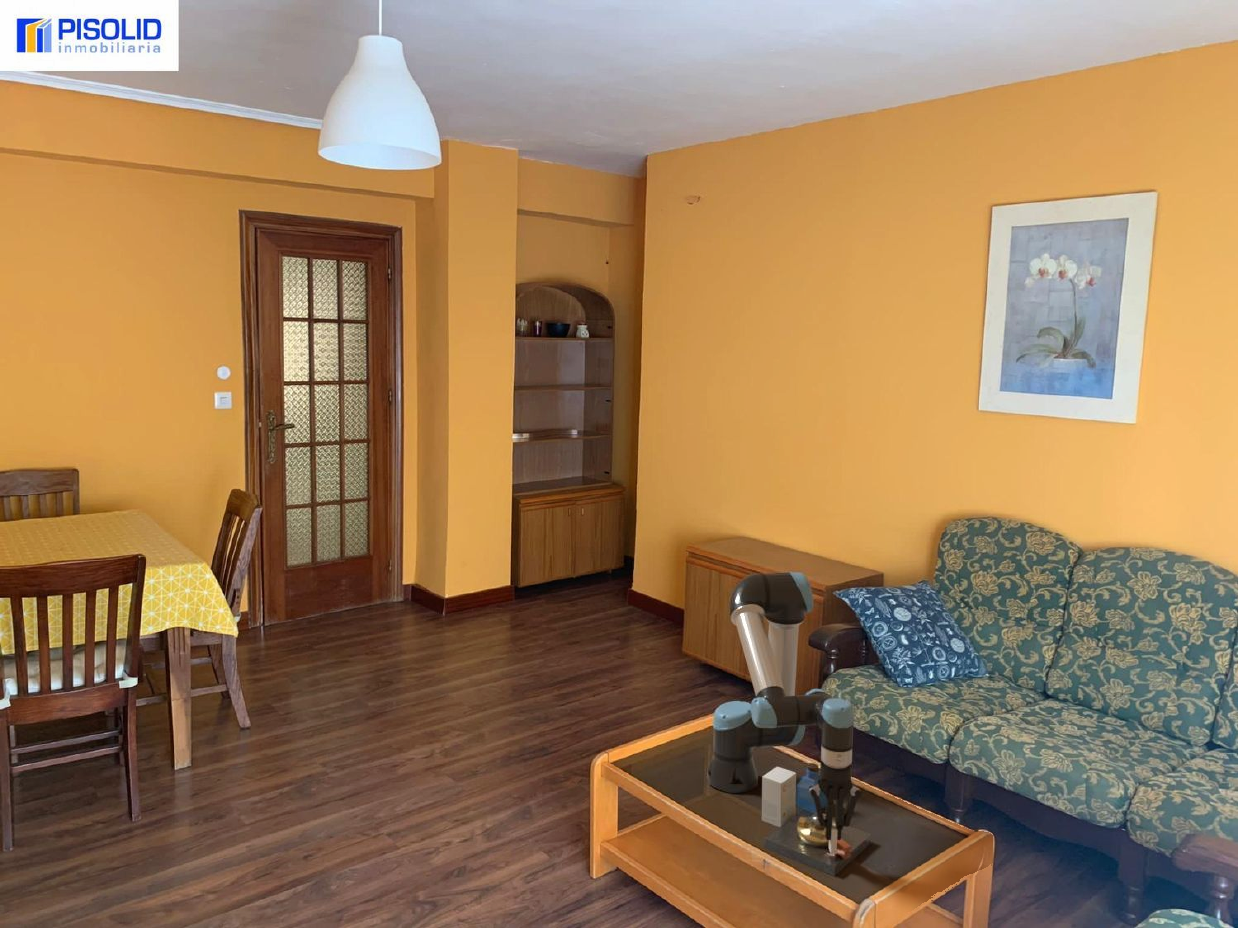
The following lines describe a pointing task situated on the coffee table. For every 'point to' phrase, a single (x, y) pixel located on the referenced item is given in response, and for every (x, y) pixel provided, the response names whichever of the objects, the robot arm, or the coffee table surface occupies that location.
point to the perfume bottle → (803, 791)
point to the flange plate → (814, 856)
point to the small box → (778, 796)
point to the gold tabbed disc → (819, 837)
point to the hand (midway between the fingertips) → (832, 850)
